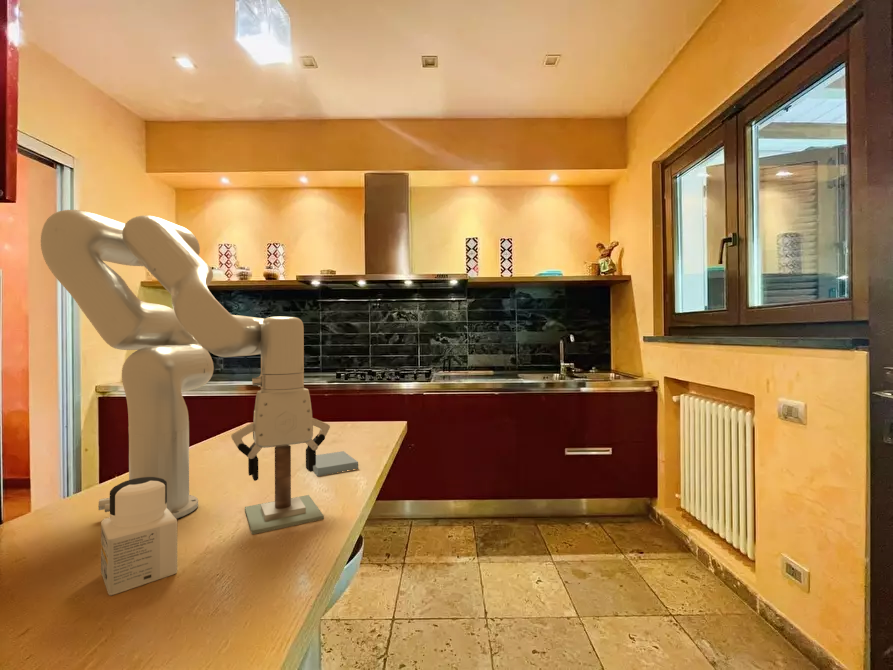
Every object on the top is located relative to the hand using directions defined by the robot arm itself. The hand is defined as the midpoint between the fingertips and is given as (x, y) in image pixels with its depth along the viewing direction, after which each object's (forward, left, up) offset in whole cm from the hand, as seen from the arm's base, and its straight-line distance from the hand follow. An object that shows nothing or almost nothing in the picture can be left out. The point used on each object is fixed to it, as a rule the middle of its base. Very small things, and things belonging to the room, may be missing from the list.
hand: (283, 474), depth 81 cm
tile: (+11, +25, -7) cm, 28 cm away
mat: (0, 0, -7) cm, 7 cm away
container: (-21, -11, -8) cm, 25 cm away
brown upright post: (0, 0, -7) cm, 7 cm away
